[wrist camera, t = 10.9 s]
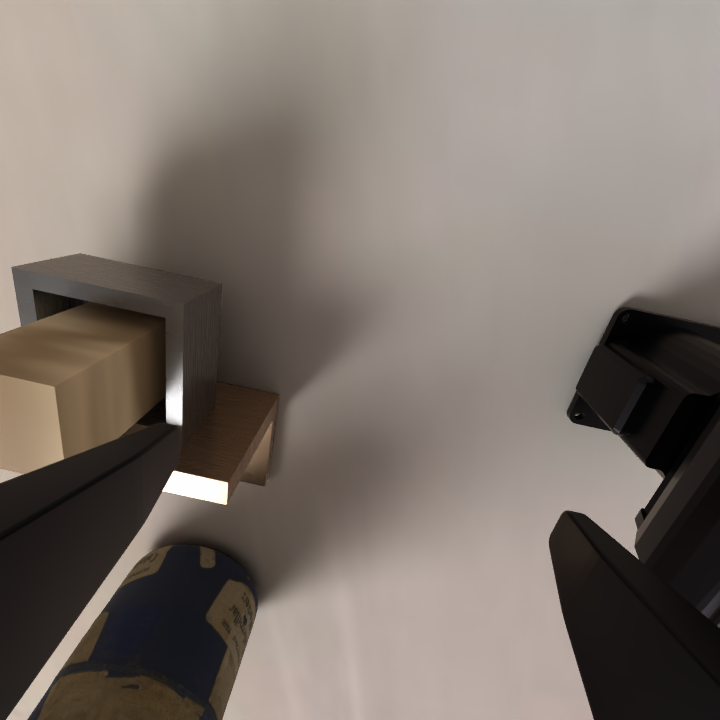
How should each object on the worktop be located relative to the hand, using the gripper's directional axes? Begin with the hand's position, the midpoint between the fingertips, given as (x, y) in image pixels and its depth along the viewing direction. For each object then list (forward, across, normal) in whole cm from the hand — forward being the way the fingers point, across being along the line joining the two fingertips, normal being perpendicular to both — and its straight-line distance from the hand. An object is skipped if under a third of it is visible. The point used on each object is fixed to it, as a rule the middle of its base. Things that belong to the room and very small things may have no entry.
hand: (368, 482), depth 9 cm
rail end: (+9, +11, +2) cm, 14 cm away
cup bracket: (+12, +11, +6) cm, 18 cm away
